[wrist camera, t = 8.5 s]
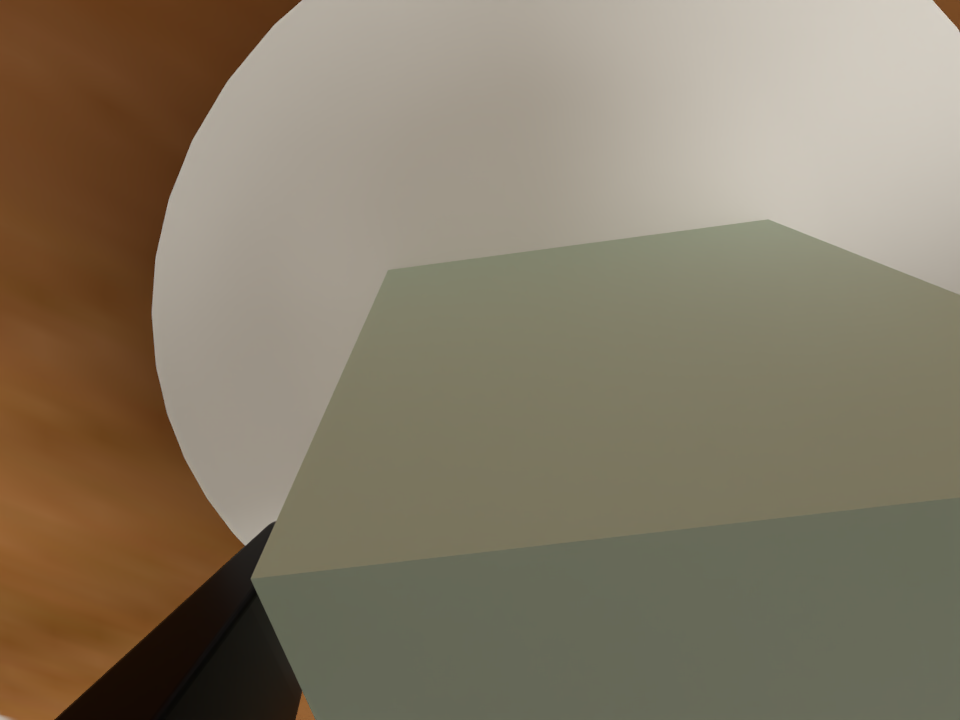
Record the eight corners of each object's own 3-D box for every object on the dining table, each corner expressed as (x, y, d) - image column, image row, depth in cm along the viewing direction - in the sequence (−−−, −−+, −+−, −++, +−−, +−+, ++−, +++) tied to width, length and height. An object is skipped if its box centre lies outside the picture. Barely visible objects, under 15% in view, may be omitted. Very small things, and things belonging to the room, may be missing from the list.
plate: (861, 580, 14) (903, 631, 13) (313, 641, 15) (297, 696, 13) (1071, -166, 7) (1207, -226, 6) (42, -4, 8) (-45, -25, 7)
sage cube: (733, 511, 11) (999, 917, 5) (446, 544, 11) (429, 967, 6) (767, 218, 8) (1354, 450, 3) (387, 269, 8) (250, 580, 3)
